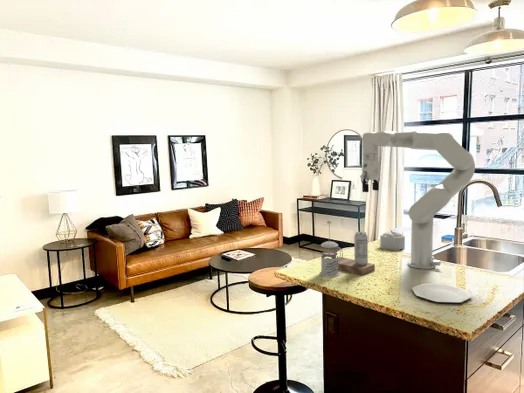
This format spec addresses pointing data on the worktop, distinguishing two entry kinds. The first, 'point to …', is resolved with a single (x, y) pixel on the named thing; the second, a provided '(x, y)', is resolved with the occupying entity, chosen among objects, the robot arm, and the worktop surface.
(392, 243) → the lumpy-topped squat cylinder
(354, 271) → the walnut board
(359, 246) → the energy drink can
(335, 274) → the french press
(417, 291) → the plate
